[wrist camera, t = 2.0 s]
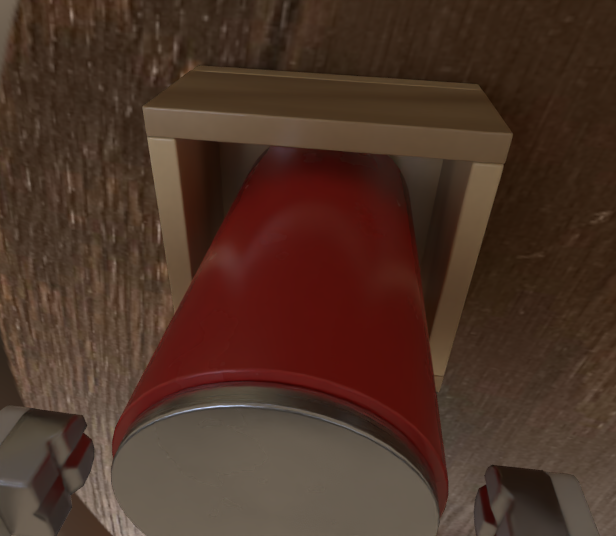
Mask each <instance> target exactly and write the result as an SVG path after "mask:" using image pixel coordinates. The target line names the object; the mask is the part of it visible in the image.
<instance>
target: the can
mask: <svg viewBox="0 0 616 536" xmlns="http://www.w3.org/2000/svg"><path fill="white" fill-rule="evenodd" d="M112 455H113V462H112V466H111V483H112V487H113V491H114V494H115V497H116V499H117V501H118V503H119V505H120V507H121V508H122V510H123V511H124V513H125V514H126V516H127V517H128V518H129V519H130V520H131V521H132V523H133V524H134V525H135V526H136V527H137V528H138V529H139V530H140V531H141V532H143V533H144V534H145V535H146V536H436V535H437V531H438V527H439V523H440V518H441V516H442V514H443V512H444V510H445V507H446V502H447V498H448V475H447V468H446V461H445V453H444V446H443V438H442V431H441V424H440V416H439V409H438V401H437V394H436V387H435V379H434V372H433V364H432V357H431V349H430V342H429V335H428V327H427V320H426V312H425V305H424V298H423V290H422V283H421V275H420V268H419V261H418V253H417V246H416V238H415V231H414V223H413V216H412V209H411V201H410V195H409V190H408V187H407V184H406V181H405V178H404V176H403V174H402V173H401V171H400V169H399V167H398V166H397V165H396V163H395V162H394V161H393V159H392V158H391V157H390V156H389V155H383V154H371V153H358V152H345V151H332V150H320V149H307V148H294V147H281V146H270V147H269V148H267V149H266V150H265V151H264V152H263V153H262V154H261V155H260V156H259V157H258V159H257V160H256V162H255V163H254V164H253V166H252V168H251V170H250V171H249V173H248V175H247V177H246V179H245V181H244V183H243V185H242V187H241V189H240V190H239V192H238V194H237V196H236V198H235V200H234V202H233V204H232V206H231V208H230V210H229V211H228V213H227V215H226V217H225V219H224V221H223V223H222V225H221V227H220V229H219V230H218V232H217V234H216V236H215V238H214V240H213V242H212V244H211V246H210V248H209V249H208V251H207V253H206V255H205V257H204V259H203V261H202V263H201V265H200V267H199V269H198V270H197V272H196V274H195V276H194V278H193V280H192V282H191V284H190V286H189V288H188V289H187V291H186V293H185V295H184V297H183V299H182V301H181V303H180V305H179V307H178V309H177V310H176V312H175V314H174V316H173V318H172V320H171V322H170V324H169V326H168V328H167V329H166V331H165V333H164V335H163V337H162V339H161V341H160V343H159V345H158V347H157V349H156V350H155V352H154V354H153V356H152V358H151V360H150V362H149V364H148V366H147V368H146V369H145V371H144V373H143V375H142V377H141V379H140V381H139V383H138V385H137V387H136V388H135V390H134V392H133V394H132V396H131V398H130V400H129V402H128V404H127V406H126V408H125V409H124V411H123V413H122V415H121V417H120V419H119V421H118V423H117V425H116V427H115V431H114V435H113V440H112Z"/></svg>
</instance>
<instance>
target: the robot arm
mask: <svg viewBox="0 0 616 536" xmlns="http://www.w3.org/2000/svg"><path fill="white" fill-rule="evenodd" d="M86 427H87V424H86V422H85V419H84V417H83V415H76V414H69V413H62V412H55V411H47V410H40V409H34V408H27V407H18V406H10V405H8V406H7V407H5V408H4V409H2V410H0V536H11V535H14V536H57V534H58V532H59V530H60V528H61V527H62V525H63V523H64V521H65V519H66V517H67V516H68V514H69V512H70V510H71V508H72V504H71V496H70V495H72V494H73V493H74V492H76V491H77V490H78V489H80V488H81V487H83V486H84V484H85V482H86V480H87V478H88V476H89V474H90V472H91V468H92V464H93V461H94V445H93V442H92V439H90V438H89V437H88V436H87V435H86V434H85V433H83V432H84V431H85V429H86ZM484 476H485V481H486V485H485V486H483V487H481V488H479V489H478V492H477V495H476V498H475V505H474V524H475V531H476V536H600V535H599V532H598V530H597V527H596V525H595V522H594V519H593V517H592V514H591V512H590V509H589V507H588V504H587V501H586V499H585V496H584V494H583V491H582V489H581V486H580V483H579V481H578V480H577V479H576V478H575V476H574V475H571V474H564V473H554V472H545V471H543V470H535V469H525V468H516V467H507V466H497V465H491V466H489V467H488V468H487V470H486V473H485V475H484Z"/></svg>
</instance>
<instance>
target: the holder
mask: <svg viewBox="0 0 616 536" xmlns="http://www.w3.org/2000/svg"><path fill="white" fill-rule="evenodd" d="M143 114H144V121H145V127H146V134H147V136H148V138H147V139H148V146H149V152H150V158H151V165H152V171H153V178H154V184H155V191H156V197H157V204H158V210H159V216H160V223H161V229H162V236H163V242H164V249H165V255H166V262H167V268H168V275H169V281H170V287H171V294H172V300H173V307H174V313H175V312H176V310H177V309H178V307H179V305H180V303H181V301H182V299H183V297H184V295H185V293H186V291H187V289H188V288H189V286H190V284H191V282H192V280H193V278H194V276H195V274H196V272H197V270H198V269H199V267H200V265H201V263H202V261H203V259H204V257H205V255H206V253H207V251H208V249H209V248H210V246H211V244H212V242H213V240H214V238H215V236H216V234H217V232H218V230H219V229H220V227H221V225H222V223H223V221H224V219H225V217H226V215H227V213H228V211H229V210H230V208H231V206H232V204H233V202H234V200H235V198H236V196H237V194H238V192H239V190H240V189H241V187H242V185H243V183H244V181H245V179H246V177H247V175H248V173H249V171H250V170H251V168H252V166H253V164H254V163H255V162H256V160H257V159H258V157H259V156H260V155H261V154H262V153H263V152H264V151H265V150H266V149H267V148H269V147H270V146H281V147H294V148H307V149H320V150H332V151H345V152H358V153H371V154H383V155H389V156H390V157H391V158H392V159H393V161H394V162H395V163H396V165H397V166H398V167H399V169H400V171H401V173H402V174H403V176H404V178H405V181H406V184H407V187H408V190H409V195H410V201H411V209H412V216H413V223H414V231H415V238H416V246H417V253H418V261H419V268H420V275H421V283H422V290H423V298H424V305H425V312H426V320H427V327H428V335H429V342H430V349H431V357H432V364H433V372H434V379H435V387H436V392H440V389H441V385H442V382H443V378H444V374H445V370H446V367H447V363H448V360H449V356H450V353H451V349H452V346H453V342H454V339H455V335H456V332H457V328H458V325H459V321H460V318H461V314H462V311H463V307H464V304H465V300H466V297H467V293H468V290H469V286H470V283H471V279H472V276H473V272H474V269H475V265H476V262H477V258H478V255H479V251H480V248H481V244H482V241H483V237H484V234H485V230H486V227H487V223H488V220H489V216H490V213H491V209H492V206H493V202H494V199H495V195H496V192H497V188H498V185H499V181H500V178H501V174H502V171H503V167H504V166H503V164H504V163H505V162H506V158H507V155H508V151H509V148H510V144H511V141H512V137H513V133H512V132H511V130H510V129H509V127H508V126H507V124H506V123H505V122H504V120H503V119H502V117H501V116H500V114H499V113H498V111H497V110H496V109H495V107H494V106H493V104H492V103H491V101H490V100H489V98H488V97H487V96H486V94H485V93H484V91H482V89H481V88H480V86H479V85H478V84H469V83H454V82H439V81H424V80H409V79H395V78H380V77H365V76H350V75H335V74H321V73H306V72H291V71H276V70H261V69H246V68H232V67H217V66H202V65H199V66H197V67H196V68H194V69H193V70H192V71H189V72H188V73H187V74H185V75H184V76H183V77H181V78H180V79H179V80H177V81H176V82H175V83H173V84H172V85H171V86H169V87H168V88H167V89H165V90H164V91H163V92H161V93H160V94H159V95H157V96H156V97H155V98H153V99H152V100H151V101H149V102H148V103H147V104H145V105H144V106H143Z"/></svg>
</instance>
